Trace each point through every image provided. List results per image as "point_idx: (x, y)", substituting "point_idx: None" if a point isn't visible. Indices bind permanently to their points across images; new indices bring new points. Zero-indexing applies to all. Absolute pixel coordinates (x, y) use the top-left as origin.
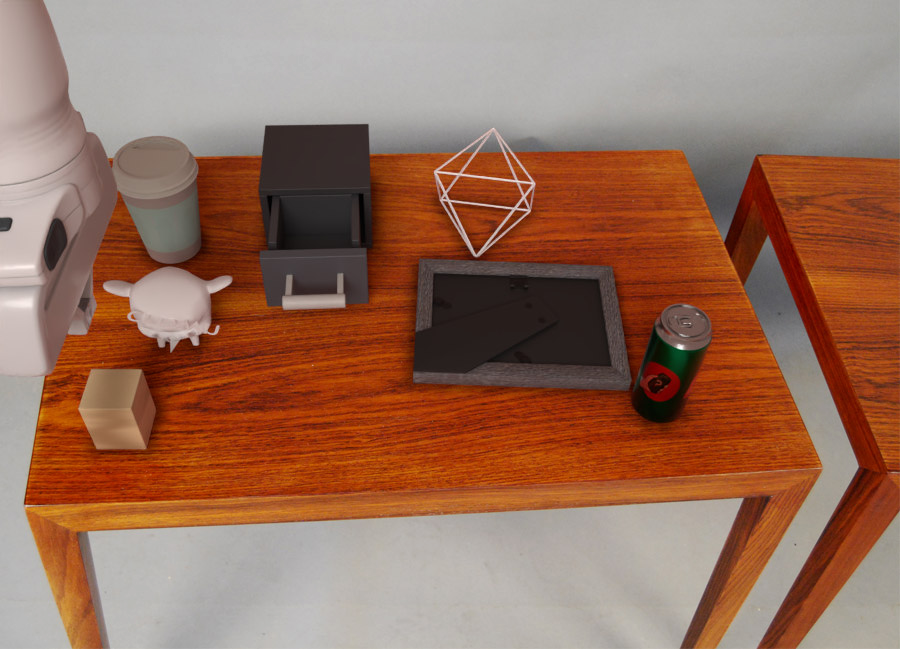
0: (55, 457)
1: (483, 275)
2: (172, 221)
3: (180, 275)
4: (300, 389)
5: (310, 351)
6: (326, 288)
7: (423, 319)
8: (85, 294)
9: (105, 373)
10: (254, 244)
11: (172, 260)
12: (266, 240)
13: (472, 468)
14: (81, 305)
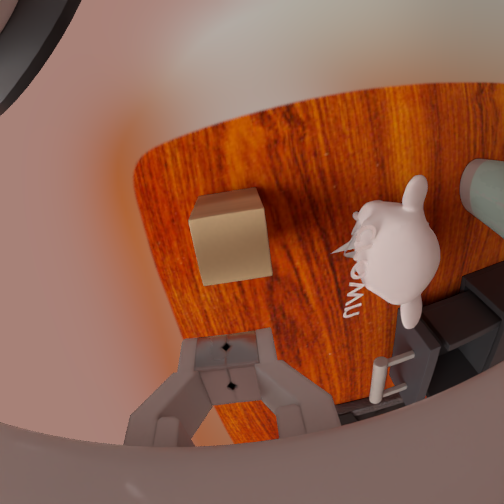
0: (180, 154)
1: None
2: (499, 225)
3: (421, 287)
4: (302, 353)
5: (345, 348)
6: (401, 365)
7: (364, 410)
8: (265, 400)
9: (258, 231)
10: (471, 261)
11: (462, 193)
12: (470, 283)
13: (241, 439)
14: (235, 393)
